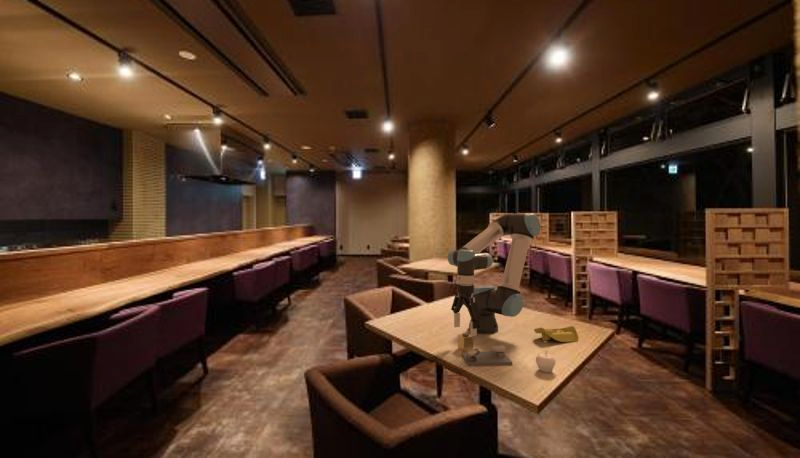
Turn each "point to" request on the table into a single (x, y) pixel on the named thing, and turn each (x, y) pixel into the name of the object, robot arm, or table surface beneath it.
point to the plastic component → (559, 334)
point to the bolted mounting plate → (490, 357)
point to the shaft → (472, 355)
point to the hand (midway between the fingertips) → (464, 331)
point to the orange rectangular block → (465, 342)
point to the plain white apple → (545, 362)
